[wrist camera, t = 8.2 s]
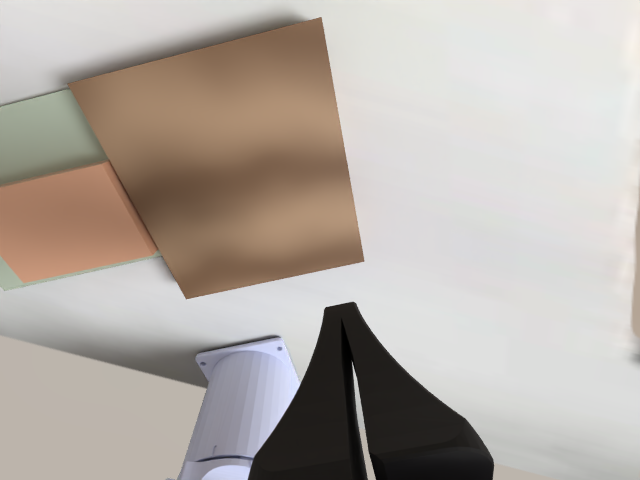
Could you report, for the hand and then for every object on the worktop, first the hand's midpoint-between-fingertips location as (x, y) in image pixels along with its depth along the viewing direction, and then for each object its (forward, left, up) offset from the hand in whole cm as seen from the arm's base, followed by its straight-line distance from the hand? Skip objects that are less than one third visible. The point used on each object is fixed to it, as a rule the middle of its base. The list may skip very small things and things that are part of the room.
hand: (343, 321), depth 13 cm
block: (+5, +5, -9) cm, 12 cm away
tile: (+5, +16, -9) cm, 19 cm away
